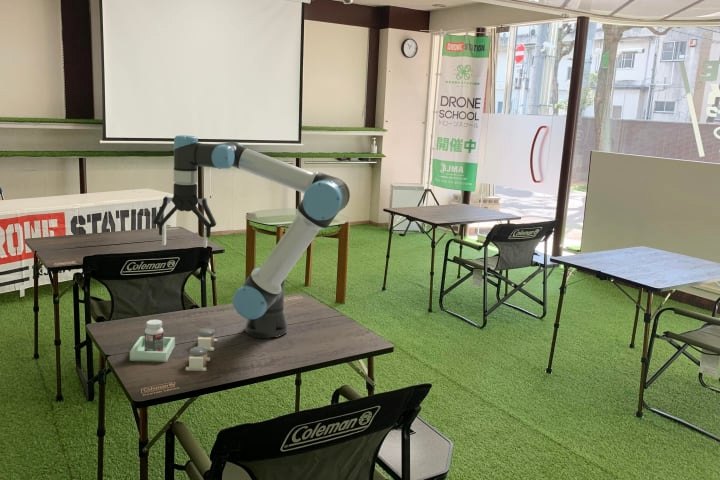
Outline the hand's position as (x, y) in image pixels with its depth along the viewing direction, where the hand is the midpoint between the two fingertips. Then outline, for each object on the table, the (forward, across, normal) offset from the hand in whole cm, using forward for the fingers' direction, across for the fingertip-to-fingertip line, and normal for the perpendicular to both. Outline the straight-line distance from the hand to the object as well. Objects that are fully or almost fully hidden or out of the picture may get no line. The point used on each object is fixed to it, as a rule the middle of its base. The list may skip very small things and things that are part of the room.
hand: (184, 245), depth 211 cm
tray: (+32, +7, +17) cm, 37 cm away
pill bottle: (+31, +6, +17) cm, 36 cm away
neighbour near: (+32, -9, +25) cm, 41 cm away
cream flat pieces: (+32, -9, +17) cm, 37 cm away
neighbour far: (+32, -9, +9) cm, 34 cm away
